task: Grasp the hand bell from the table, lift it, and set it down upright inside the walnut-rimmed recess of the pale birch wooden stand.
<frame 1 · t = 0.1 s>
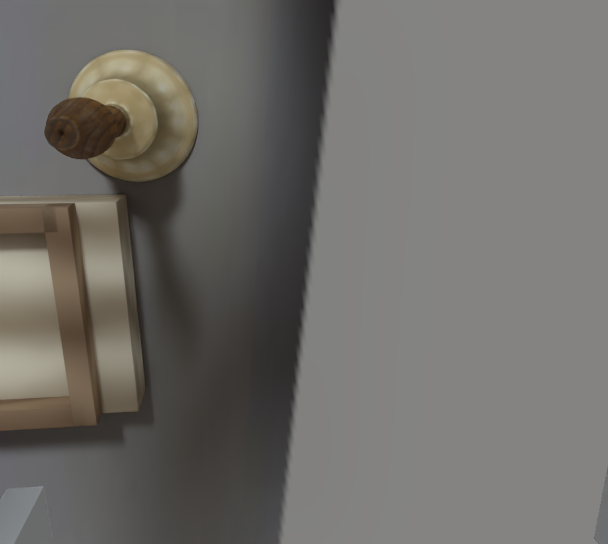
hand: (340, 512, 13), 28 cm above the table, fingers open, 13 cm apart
hand bell: (134, 117, 36), on the table
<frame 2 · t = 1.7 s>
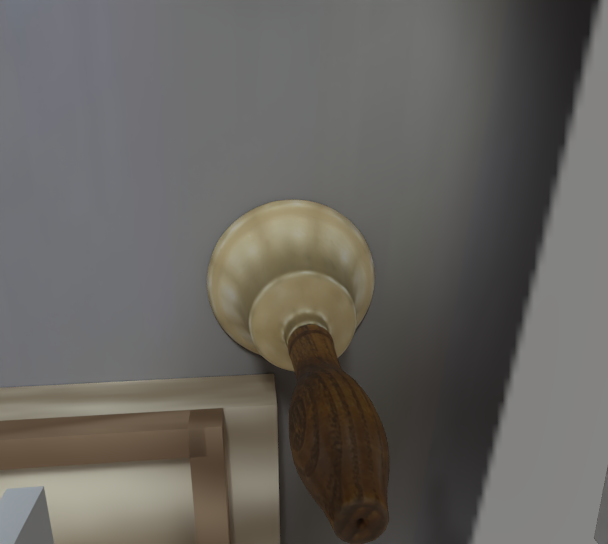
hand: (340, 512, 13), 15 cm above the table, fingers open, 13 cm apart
stand: (94, 505, 30), on the table
hand bell: (291, 280, 27), on the table
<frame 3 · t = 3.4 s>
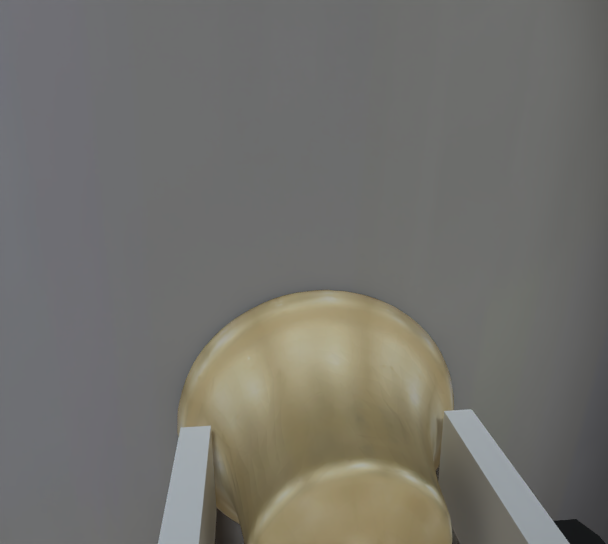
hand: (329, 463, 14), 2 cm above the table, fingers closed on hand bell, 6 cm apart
hand bell: (317, 414, 17), on the table, touching gripper
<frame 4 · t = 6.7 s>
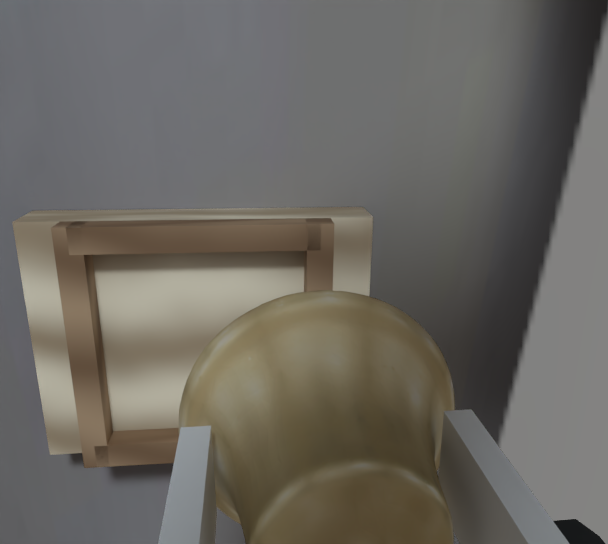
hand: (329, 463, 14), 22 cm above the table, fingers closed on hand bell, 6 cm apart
stand: (208, 321, 36), on the table
hand bell: (318, 414, 17), point 19 cm above the table, touching gripper
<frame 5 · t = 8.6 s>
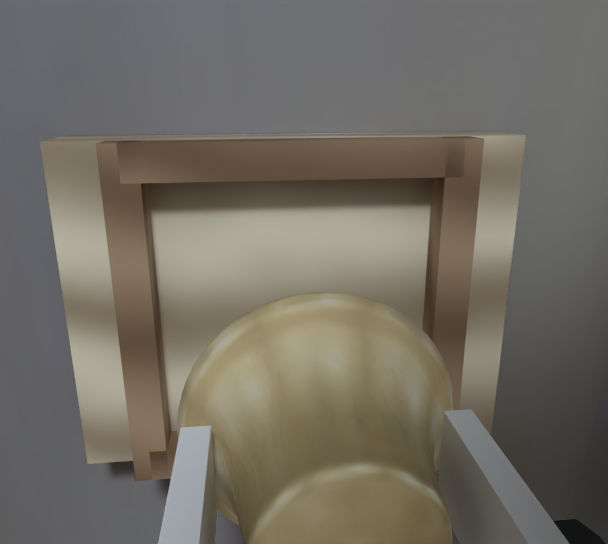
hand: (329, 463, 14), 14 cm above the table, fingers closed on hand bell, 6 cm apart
stand: (289, 286, 28), on the table
hand bell: (317, 416, 17), point 12 cm above the table, touching gripper
when the fingers open (7 cm above the table, at t = 10.2 s): hand bell drops 1 cm, resting on stand.
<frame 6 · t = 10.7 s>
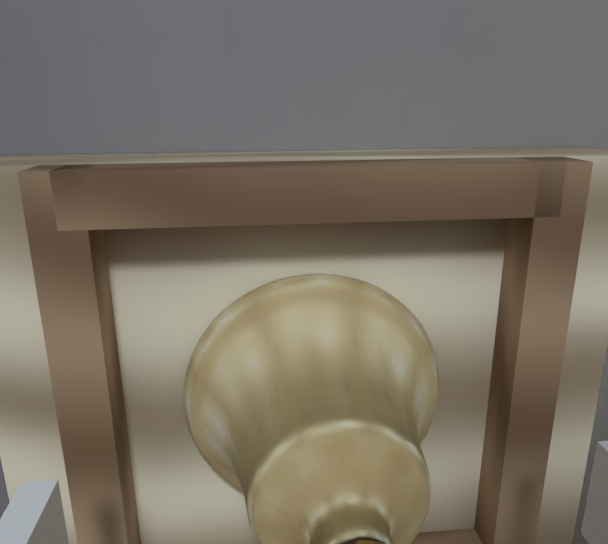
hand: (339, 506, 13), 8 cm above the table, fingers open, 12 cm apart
stand: (303, 353, 21), on the table
hand bell: (312, 390, 18), point 3 cm above the table, touching stand
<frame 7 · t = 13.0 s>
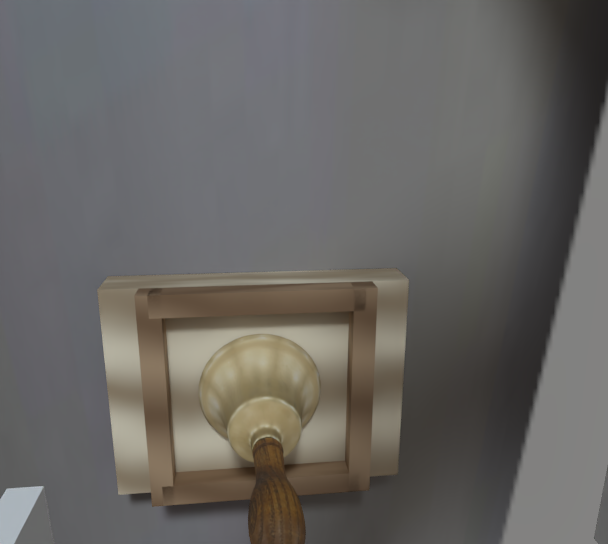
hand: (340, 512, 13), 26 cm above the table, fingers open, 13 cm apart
stand: (258, 370, 40), on the table
hand bell: (260, 388, 37), point 3 cm above the table, touching stand
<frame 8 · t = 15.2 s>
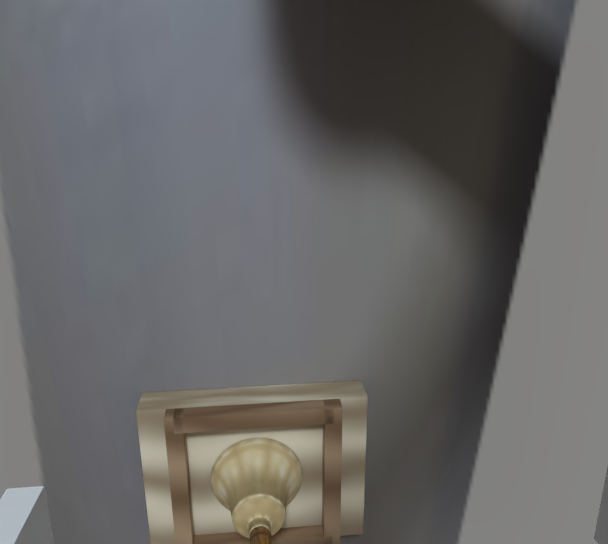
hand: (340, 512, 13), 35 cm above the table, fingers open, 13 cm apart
stand: (256, 455, 53), on the table
hand bell: (256, 474, 50), point 3 cm above the table, touching stand
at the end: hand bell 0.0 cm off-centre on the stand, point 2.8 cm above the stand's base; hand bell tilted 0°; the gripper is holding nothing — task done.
